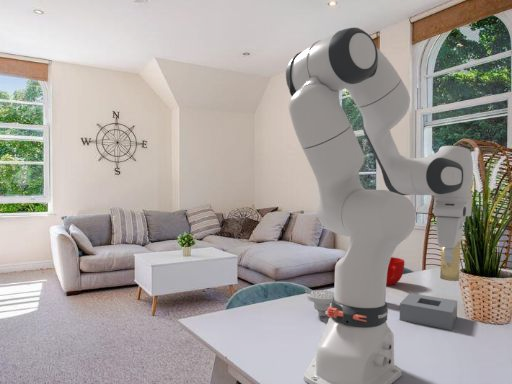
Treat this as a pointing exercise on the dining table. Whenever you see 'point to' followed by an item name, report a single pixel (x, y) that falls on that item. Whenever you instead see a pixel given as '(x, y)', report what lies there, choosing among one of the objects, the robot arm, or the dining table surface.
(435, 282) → the dining table surface
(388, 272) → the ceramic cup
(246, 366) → the dining table surface
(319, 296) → the showerhead
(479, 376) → the dining table surface
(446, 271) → the brass pipe
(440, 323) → the fitting block
